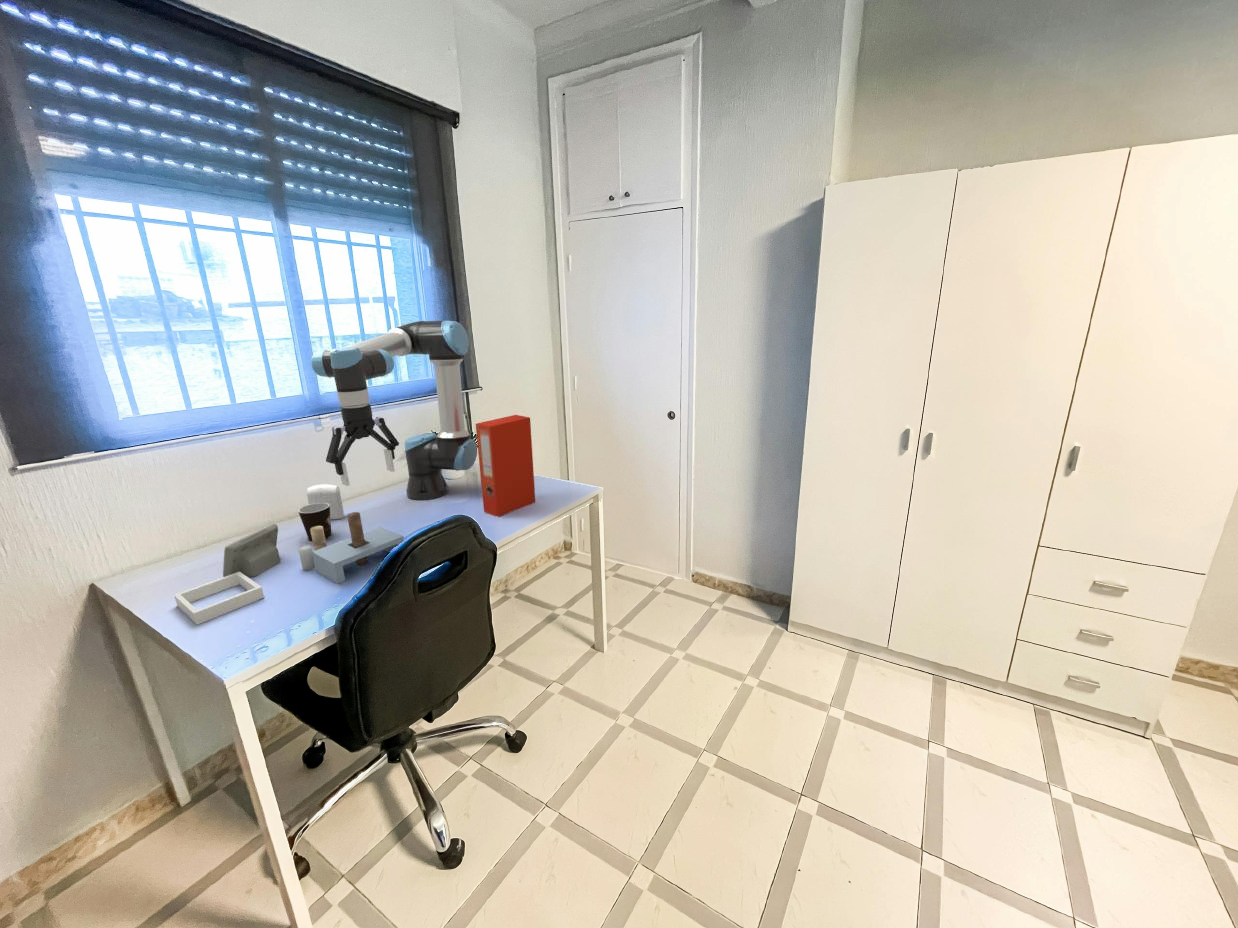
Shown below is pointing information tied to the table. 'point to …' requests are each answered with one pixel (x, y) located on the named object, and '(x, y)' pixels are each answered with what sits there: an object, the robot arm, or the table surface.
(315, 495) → the photo printer
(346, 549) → the bridge
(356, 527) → the long dowel
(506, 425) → the file binder
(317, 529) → the medium dowel
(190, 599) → the frame
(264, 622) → the table surface
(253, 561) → the digital clock
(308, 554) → the short dowel
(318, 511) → the coffee mug
